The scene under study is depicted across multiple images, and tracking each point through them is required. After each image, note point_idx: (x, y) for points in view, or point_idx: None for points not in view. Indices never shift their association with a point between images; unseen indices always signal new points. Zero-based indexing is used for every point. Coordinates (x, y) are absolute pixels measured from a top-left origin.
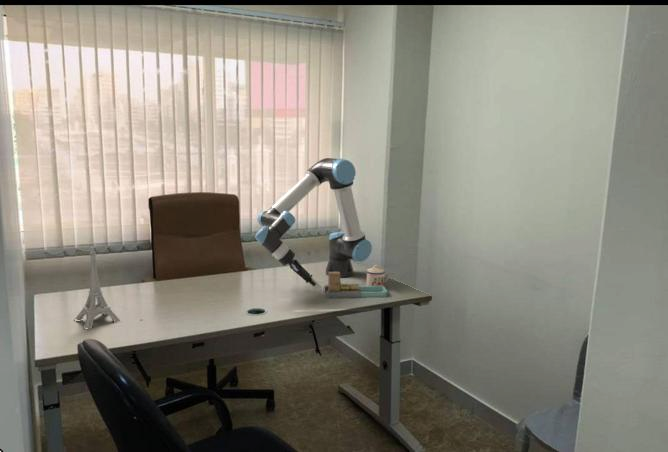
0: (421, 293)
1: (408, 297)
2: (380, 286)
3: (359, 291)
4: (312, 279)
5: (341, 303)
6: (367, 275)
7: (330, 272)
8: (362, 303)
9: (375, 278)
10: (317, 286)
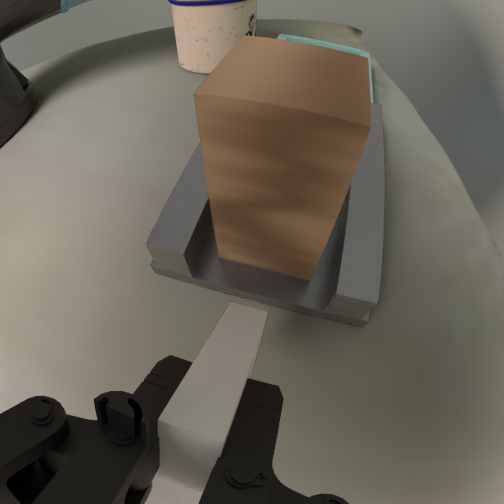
0: (321, 21)
1: (355, 43)
2: (285, 39)
3: (371, 107)
4: (229, 432)
5: (434, 251)
6: (207, 18)
7: (241, 84)
8: (429, 160)
9: (251, 16)
10: (253, 360)
